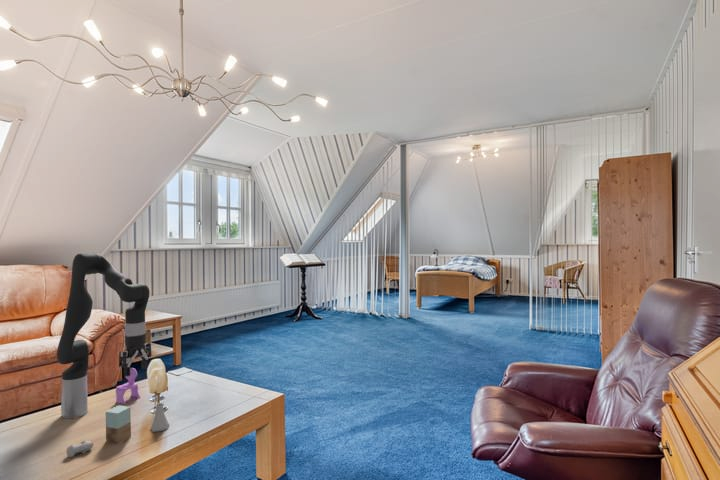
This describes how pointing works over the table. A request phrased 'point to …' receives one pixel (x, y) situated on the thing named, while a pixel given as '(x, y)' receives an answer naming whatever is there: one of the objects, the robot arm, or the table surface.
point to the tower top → (118, 416)
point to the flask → (159, 419)
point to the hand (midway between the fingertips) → (135, 372)
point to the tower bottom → (118, 434)
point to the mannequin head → (79, 448)
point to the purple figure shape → (127, 387)
